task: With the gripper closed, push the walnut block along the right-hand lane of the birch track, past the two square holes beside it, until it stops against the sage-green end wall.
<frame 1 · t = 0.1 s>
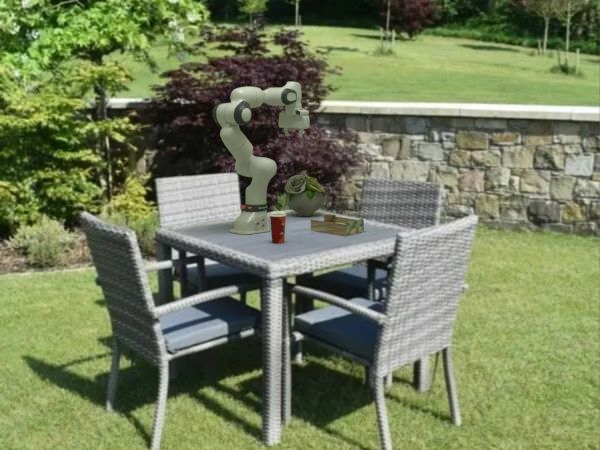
hand: (293, 136, 421), 48 cm above the table, tool pointing down, fingers open, 8 cm apart
walnut block: (329, 223, 408), point 3 cm above the table, touching trap track
coffee cup: (278, 242, 374), on the table
flower arrangement: (305, 215, 449), on the table
trap track: (337, 231, 402), on the table
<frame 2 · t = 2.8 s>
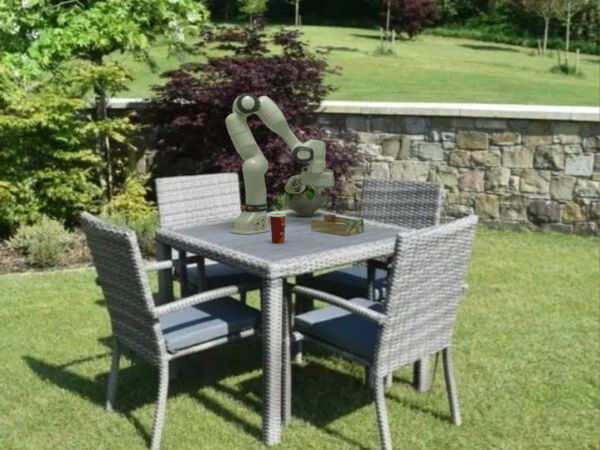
hand: (317, 194, 411), 18 cm above the table, tool pointing down, fingers closed
nothing on the table moved.
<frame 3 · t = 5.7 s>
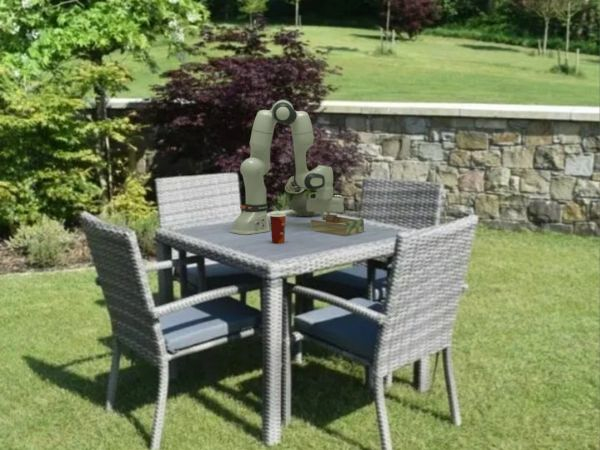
hand: (325, 220, 410), 4 cm above the table, tool pointing down, fingers closed
walnut block: (331, 223, 407), point 3 cm above the table, touching gripper, trap track
everything else where it was.
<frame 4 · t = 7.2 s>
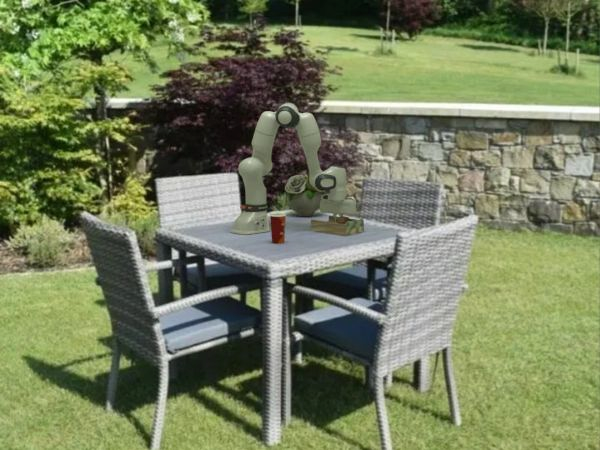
hand: (338, 221, 405), 4 cm above the table, tool pointing down, fingers closed
walnut block: (343, 225, 401), point 3 cm above the table, touching gripper, trap track
everything else where it was.
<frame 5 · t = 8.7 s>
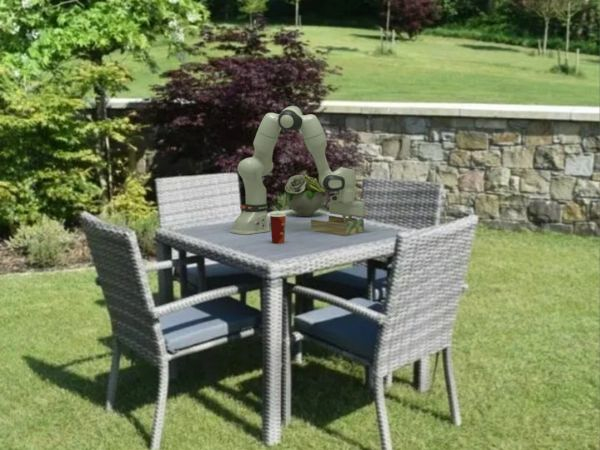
hand: (347, 223, 401), 4 cm above the table, tool pointing down, fingers closed
walnut block: (351, 226, 397), point 3 cm above the table, touching gripper, trap track
everything else where it was.
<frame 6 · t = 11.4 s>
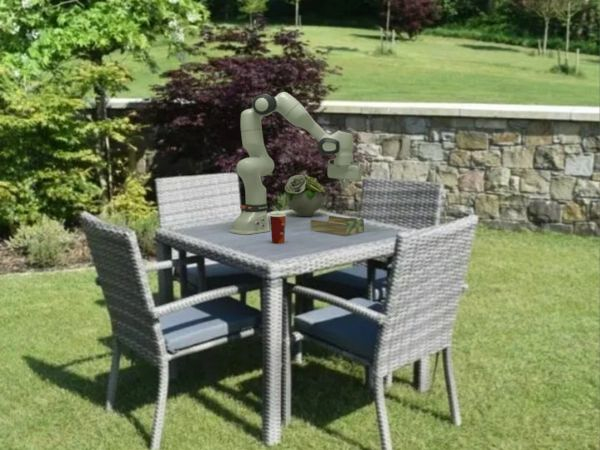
hand: (344, 187, 398), 23 cm above the table, tool pointing down, fingers closed
walnut block: (351, 226, 397), point 3 cm above the table, touching trap track
everything else where it was.
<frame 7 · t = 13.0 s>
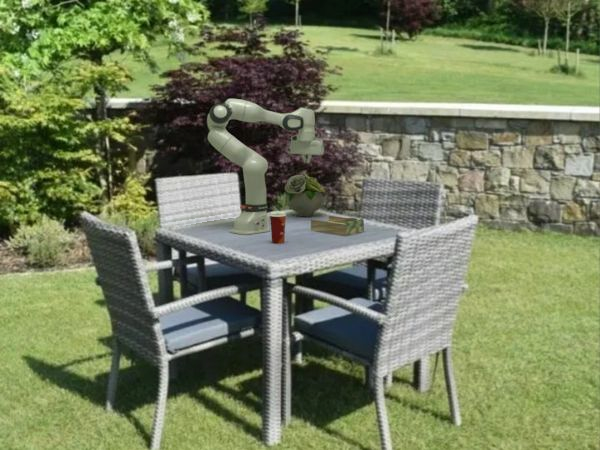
hand: (306, 162, 416), 34 cm above the table, tool pointing down, fingers closed
nothing on the table moved.
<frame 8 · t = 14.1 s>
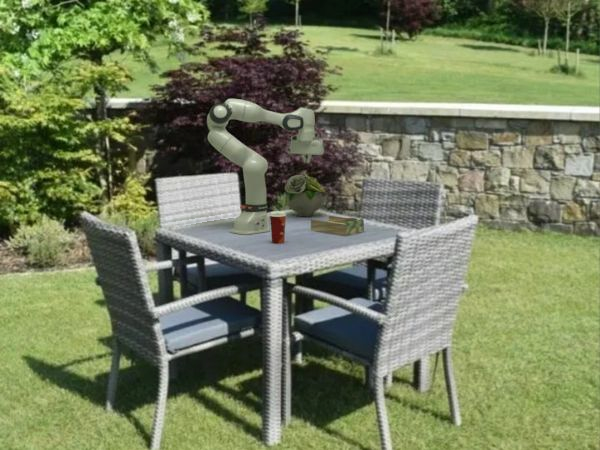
hand: (306, 162, 416), 34 cm above the table, tool pointing down, fingers closed
nothing on the table moved.
at the end: walnut block 1.7 cm from the target spot, point 3.0 cm above the table; walnut block tilted 0° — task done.
